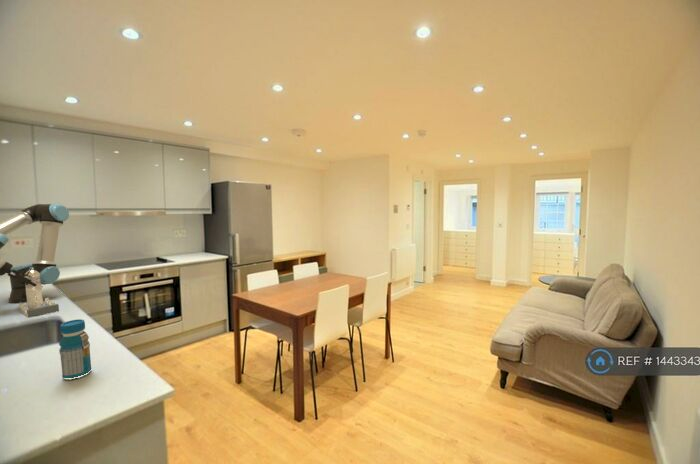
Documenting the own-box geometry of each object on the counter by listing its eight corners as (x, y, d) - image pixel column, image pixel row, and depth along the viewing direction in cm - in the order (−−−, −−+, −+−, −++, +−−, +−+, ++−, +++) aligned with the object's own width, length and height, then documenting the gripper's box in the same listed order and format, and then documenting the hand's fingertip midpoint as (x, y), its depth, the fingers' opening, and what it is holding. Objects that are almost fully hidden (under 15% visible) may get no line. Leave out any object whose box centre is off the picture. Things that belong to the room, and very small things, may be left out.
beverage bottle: (67, 383, 111) (61, 328, 109) (58, 377, 115) (53, 324, 113) (96, 372, 118) (91, 320, 116) (86, 366, 122) (82, 316, 121)
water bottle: (33, 309, 190) (29, 268, 188) (24, 309, 191) (20, 268, 189) (46, 306, 197) (42, 266, 194) (37, 305, 198) (33, 266, 196)
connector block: (27, 316, 178) (26, 310, 178) (58, 310, 188) (57, 303, 188) (28, 317, 177) (27, 310, 176) (59, 311, 187) (58, 304, 187)
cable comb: (18, 308, 192) (17, 302, 192) (47, 303, 203) (46, 297, 202) (28, 317, 177) (27, 310, 176) (59, 311, 187) (58, 304, 187)
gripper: (-11, 269, 186) (28, 288, 200) (-4, 274, 172) (37, 295, 185) (2, 259, 190) (39, 278, 204) (9, 263, 176) (49, 284, 189)
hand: (38, 286), depth 195 cm, fingers open, 13 cm apart
